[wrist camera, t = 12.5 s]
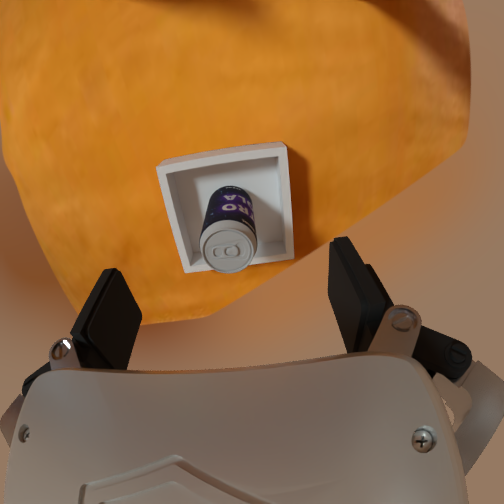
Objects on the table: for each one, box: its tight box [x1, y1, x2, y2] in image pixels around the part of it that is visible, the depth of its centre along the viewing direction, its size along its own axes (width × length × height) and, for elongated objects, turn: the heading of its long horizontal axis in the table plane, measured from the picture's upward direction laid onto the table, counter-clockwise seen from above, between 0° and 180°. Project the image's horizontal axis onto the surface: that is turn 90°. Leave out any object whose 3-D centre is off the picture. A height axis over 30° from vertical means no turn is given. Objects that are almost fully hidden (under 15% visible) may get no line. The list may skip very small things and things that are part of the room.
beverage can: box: [199, 186, 258, 273], centre depth 30 cm, size 6×6×12 cm
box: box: [156, 141, 294, 273], centre depth 34 cm, size 15×15×4 cm
